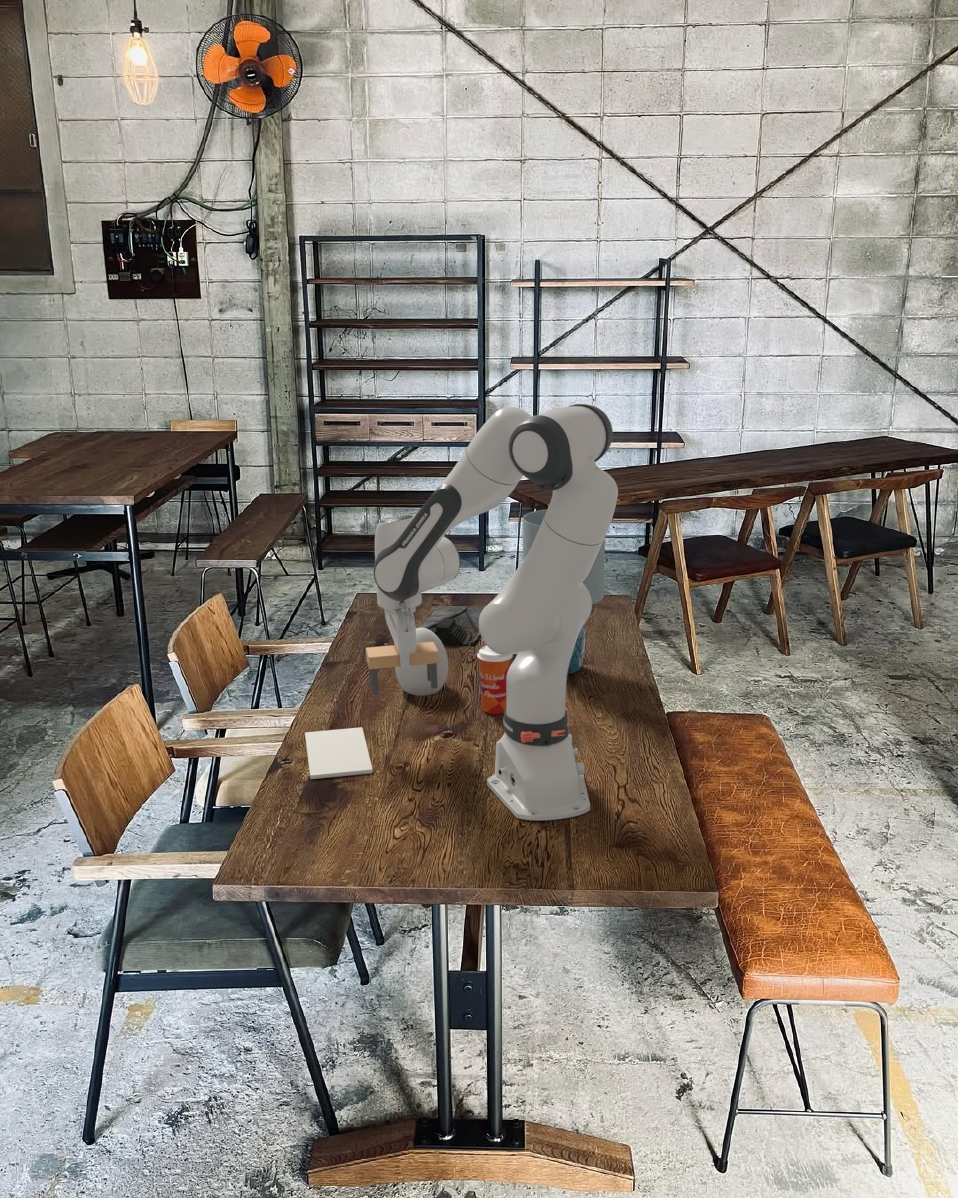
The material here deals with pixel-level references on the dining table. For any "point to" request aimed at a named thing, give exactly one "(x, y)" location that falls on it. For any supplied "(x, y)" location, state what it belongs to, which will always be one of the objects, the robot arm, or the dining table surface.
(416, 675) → the decorative egg
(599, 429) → the robot arm
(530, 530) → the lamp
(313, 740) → the felt mat
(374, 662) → the bench model
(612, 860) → the dining table surface
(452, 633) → the architectural model
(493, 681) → the paper cup
